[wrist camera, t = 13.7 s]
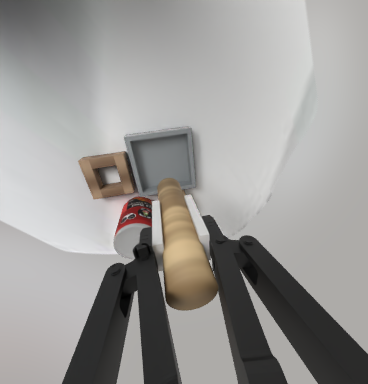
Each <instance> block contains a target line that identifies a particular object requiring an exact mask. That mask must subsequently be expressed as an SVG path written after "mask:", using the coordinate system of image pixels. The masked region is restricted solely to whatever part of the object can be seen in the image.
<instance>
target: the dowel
mask: <svg viewBox="0 0 368 384" xmlns="http://www.w3.org/2000/svg"><path fill="white" fill-rule="evenodd" d="M157 192H158V200H159V202H160V210H161V221H162V233H163V244H164V251H163V254H162V258H163V272H164V284H165V298H166V302H167V304H168V305H169V306H170V307H172V308H174V309H177V310H193V309H196V308H200V307H202V306H204V305H206V304H208V303H209V302H210V301H211V300H213V299H214V297H215V296H216V294H217V292H218V284H217V281H216V279H215V276H214V274H213V271H212V268H211V266H210V263H209V260H208V258H207V255H206V252H205V250H204V247H203V245H202V243H201V242H200V241H199V238H198V235H197V232H196V230H195V227H194V224H193V221H192V219H191V216H190V213H189V210H188V208H187V205H186V202H185V198H184V194H183V192H182V189H181V186H180V184H179V182H178V181H177V180H175V179H173V178H165V179H163V180H162V181H160V183H159V184H158V187H157Z"/></svg>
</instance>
